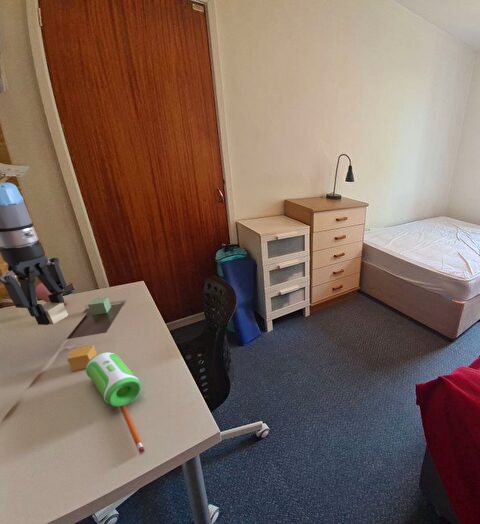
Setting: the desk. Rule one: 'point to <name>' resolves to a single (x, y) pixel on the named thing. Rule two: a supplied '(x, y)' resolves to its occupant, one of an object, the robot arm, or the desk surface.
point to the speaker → (113, 379)
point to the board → (95, 322)
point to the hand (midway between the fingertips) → (53, 318)
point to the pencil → (132, 429)
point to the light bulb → (43, 293)
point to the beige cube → (55, 312)
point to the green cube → (99, 305)
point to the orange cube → (81, 357)
